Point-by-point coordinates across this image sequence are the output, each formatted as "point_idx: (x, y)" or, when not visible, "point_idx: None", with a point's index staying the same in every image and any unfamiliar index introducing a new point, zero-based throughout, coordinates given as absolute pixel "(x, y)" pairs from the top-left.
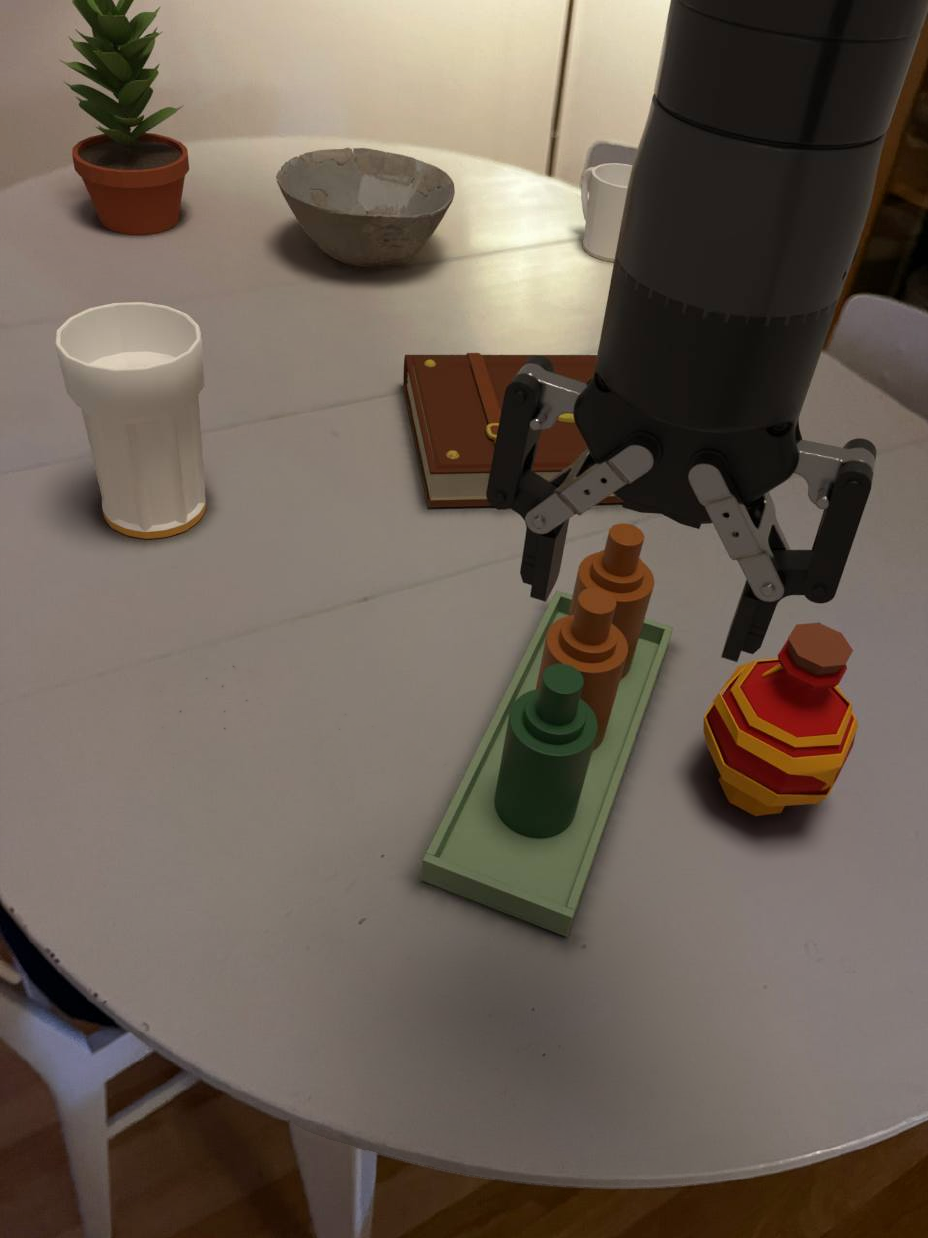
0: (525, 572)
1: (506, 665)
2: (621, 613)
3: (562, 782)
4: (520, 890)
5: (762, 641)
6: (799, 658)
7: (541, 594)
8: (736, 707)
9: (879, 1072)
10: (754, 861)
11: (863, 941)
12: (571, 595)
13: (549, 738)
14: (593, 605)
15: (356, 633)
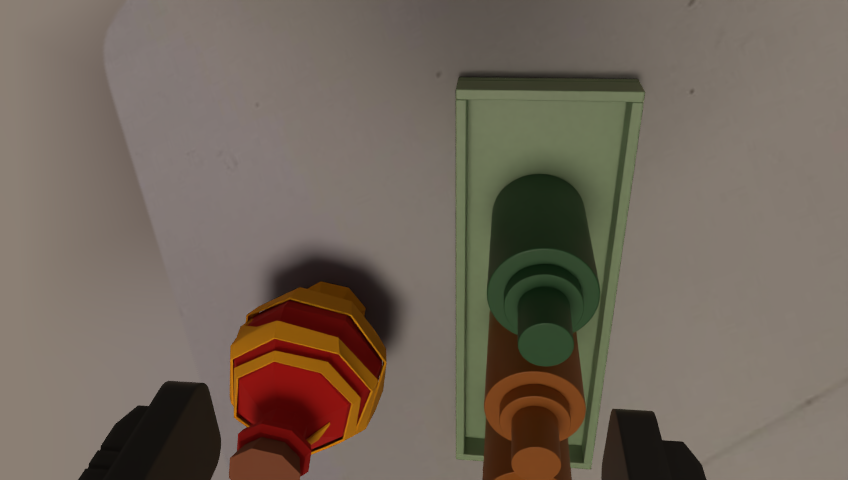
0: (688, 468)
1: (618, 368)
2: (508, 458)
3: (510, 230)
4: (521, 98)
5: (107, 437)
6: (280, 452)
7: (628, 422)
8: (349, 379)
9: (136, 61)
10: (306, 233)
11: (189, 188)
12: (572, 467)
13: (540, 269)
14: (538, 456)
15: (807, 356)
